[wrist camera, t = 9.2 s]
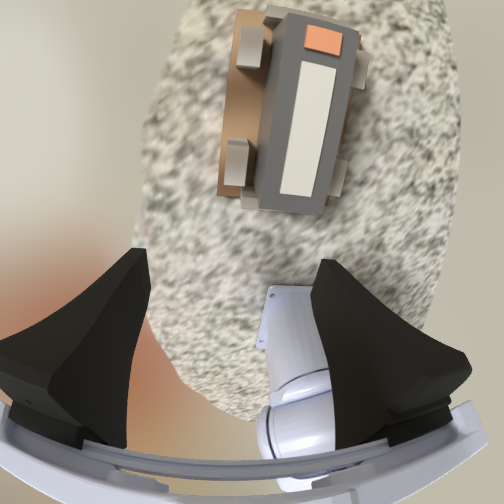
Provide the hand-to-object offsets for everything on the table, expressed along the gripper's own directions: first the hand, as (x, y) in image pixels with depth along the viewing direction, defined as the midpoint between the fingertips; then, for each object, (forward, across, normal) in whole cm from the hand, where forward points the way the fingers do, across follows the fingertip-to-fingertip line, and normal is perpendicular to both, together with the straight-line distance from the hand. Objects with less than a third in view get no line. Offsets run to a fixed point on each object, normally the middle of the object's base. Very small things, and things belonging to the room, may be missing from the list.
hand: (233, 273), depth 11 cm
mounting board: (+10, -3, -6) cm, 12 cm away
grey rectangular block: (+9, -3, -6) cm, 11 cm away
